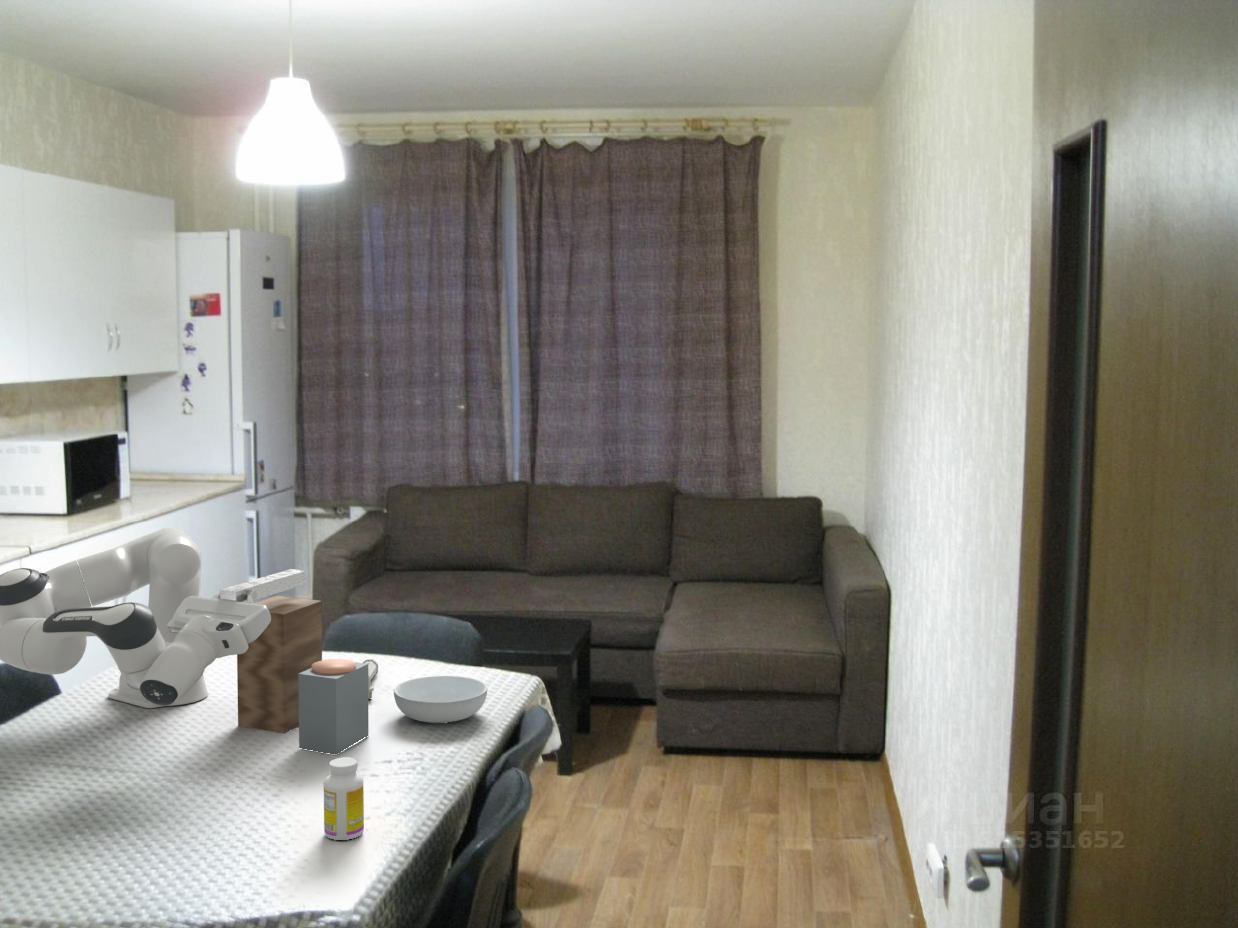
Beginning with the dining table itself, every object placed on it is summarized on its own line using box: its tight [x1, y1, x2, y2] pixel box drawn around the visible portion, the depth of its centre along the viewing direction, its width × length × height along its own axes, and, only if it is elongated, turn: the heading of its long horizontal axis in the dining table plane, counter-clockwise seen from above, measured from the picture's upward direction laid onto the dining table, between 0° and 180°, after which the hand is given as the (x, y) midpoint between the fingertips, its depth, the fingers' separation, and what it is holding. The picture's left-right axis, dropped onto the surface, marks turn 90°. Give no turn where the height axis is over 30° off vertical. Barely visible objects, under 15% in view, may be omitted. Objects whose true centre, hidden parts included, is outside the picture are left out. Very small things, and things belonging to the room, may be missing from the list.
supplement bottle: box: [323, 757, 365, 841], centre depth 205 cm, size 7×7×13 cm
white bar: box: [219, 568, 307, 602], centre depth 255 cm, size 4×24×3 cm, turn 160°
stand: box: [236, 595, 323, 734], centre depth 262 cm, size 12×14×26 cm
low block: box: [298, 658, 369, 755], centre depth 249 cm, size 9×12×17 cm
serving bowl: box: [393, 675, 489, 724], centre depth 268 cm, size 21×21×7 cm
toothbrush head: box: [362, 658, 379, 700], centre depth 289 cm, size 5×7×25 cm
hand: (242, 591), depth 248 cm, fingers closed on white bar, 4 cm apart
